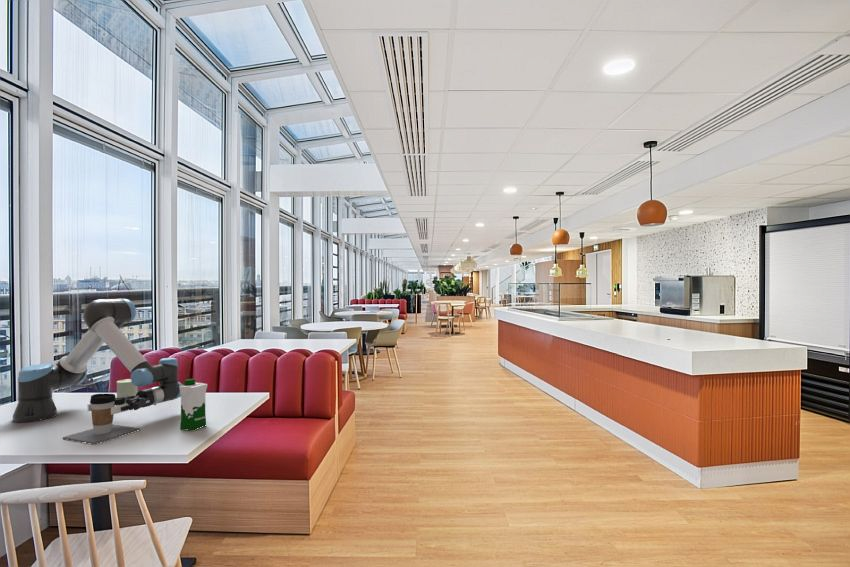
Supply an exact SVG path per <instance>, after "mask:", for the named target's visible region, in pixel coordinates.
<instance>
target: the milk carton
mask: <svg viewBox="0 0 850 567" xmlns="http://www.w3.org/2000/svg"><path fill="white" fill-rule="evenodd" d="M179 389H180V394H181V397H180V425H179V429H180V430H183V429H188V430H187V431H190V430H194V431H196V430H195V429H197V428H200V427H202V426H205V425H206V426H207V416H206V393H207V389H208V383H203V382H196V378H185V379H184V384H182V385H181V386H179ZM206 426H205V427H206ZM202 428H203V427H202ZM200 429H201V428H200ZM197 430H198V429H197Z"/></svg>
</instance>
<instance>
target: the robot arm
mask: <svg viewBox="0 0 850 567" xmlns="http://www.w3.org/2000/svg"><path fill="white" fill-rule="evenodd" d="M136 310H137V309H136V306H135V304H134V303H133V301H131V300H130V299H128V298H99V299H94V300H93V301H90V302H89V303H88V304H87V305H86V306H85V308H84V310H83V317H82V318H83V322H84V323H85V326H86V327H87V328H88V330H87V331H86V332H85V334H84V335H83V336H82V337H81V339H80V340H79V341H78V342H77V344H76V345H75V346H74V347H73V348H72V350H71V351H70V352H69V354H68V355H64V356H62V357H61V358H60V359H59V360H58V361H57V363H56V364H52V363H38V364H33V365H32V364H31V365H28V366H25V367H23V368H21V369H20V370H19V372H18V377H17V383H18V384H17V386H18V387H17V388H18V390H17V395H18V396H17V399H18V401H17V405H16V407H15V409H14V411H13V412H14V413H13V414H12V422H14V421H15V423H27V421H30V422H35V421H34V420H37V421H41V420H40V419H43V420H46V419H45V418H47V419H50V418H49V417H51V418H53V417H52V416H54V417H56V416H57V415H58V409H57V407H56V404H55V402H54V399H53V391H56V390H61V389H65V388H66V389H67V388H71V387H74V386H77V385H80V384H81V383H82V382H84V381H85V379H86V377H87V375H88V373H87V372H88V365H87V364H88V363H89V362H90V361H91V359H92V358H93V357H94V355H95V354H96V353H97V352H98V351H99V350H100V349H101V347H102V346H103V345H104V344H106V346H107V347H108V348H109V349H110V351H112V353H113V354H114V355H115V356H116V357H117V358H118V359H119V361H121V363H122V365H124V366H125V368H126V369H127V371H129V372H130V378H129V379H131V382H132V384H133V385H135V386H138V387H145V386H149V385H152V384H156V383H158V384H159V386H153V387H149V388H145V389H141V390H139V391H138V392H137V394H136V396H135V395H133V396H124V397H117V396H116V397H115V398H116V401H115V402H114V405H115V407H111V415H113V414H114V415H116V414H119V413H123V412H127V411H129V410H130V411H132V410H133V411H137V410H140V409H141V408H142V409H143V408H146V407H150V406H157V404H162V403H165V402H169V401H173V400H176V399H179V398H181V394H180V389H179V386H181V385H183V384H182V383H181V382H180V381H178V380H179V364H178V363H179V362H178V358H175V357H164V358H161V359H160V360H158V364H156V365H155V364H154V365H151V363H150V362H149V361H148V360H147V359H146V358H145V356H143V354H142V353H141V351H139V349H137V348H136V346H135V345H134V344H133V342H132V341H130V339H129V338H128V337H127V336H126V335H125V333H123V332H122V330H121V328H122V327H123V326H124V324H129V323H130V322H132V321H133V320H134V319H135V317H136V315H137V311H136ZM125 402H126V404H125ZM91 408H92V407H91V404H90V403H88V404H87V412H91ZM55 415H56V416H55ZM114 415H113V416H114Z"/></svg>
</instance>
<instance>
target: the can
mask: <svg viewBox="0 0 850 567" xmlns="http://www.w3.org/2000/svg"><path fill="white" fill-rule="evenodd" d="M138 390H139V388H138V386H135V385H133V384H132V382H131V379H130V378H126V379H120V380H117V381H116V398H117V397H124V396H133V395H135V396H136V394H137V392H138ZM125 404H126V402H125Z"/></svg>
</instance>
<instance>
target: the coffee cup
mask: <svg viewBox="0 0 850 567" xmlns="http://www.w3.org/2000/svg"><path fill="white" fill-rule="evenodd" d="M116 398H117V397H116V395H115V394H114V393H96V394H92V395H90V399H89V404H91V407H92V408H91V411H90V412H91V422H92V429H93V433H94V434H95V435H101V434H107V433H109V432H111V431H112V424H113V422H114V415H115V414H113V415H111V407H115V406H116V405H114V402H115V401H116Z"/></svg>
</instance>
